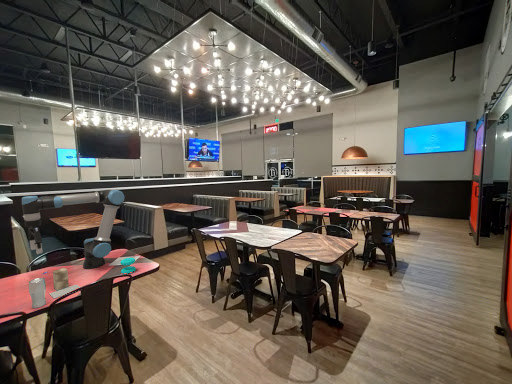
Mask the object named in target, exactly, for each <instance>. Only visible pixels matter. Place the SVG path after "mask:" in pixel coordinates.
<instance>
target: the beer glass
mask: <svg viewBox="0 0 512 384" xmlns="http://www.w3.org/2000/svg"><path fill="white" fill-rule="evenodd" d="M46 289H47V284H46V278H45V277H37V278H33V279H31V280H30V281H29V282H28V293H29V296H30V298H31V302H32V303H31V309H39V308H41V307H44V306H45V305H47V301H46Z"/></svg>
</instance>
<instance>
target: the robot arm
mask: <svg viewBox="0 0 512 384" xmlns="http://www.w3.org/2000/svg"><path fill="white" fill-rule="evenodd" d="M125 196H126V195H124V192H123V191H121V190H118V189H103V190H97V191H94V192H88V193H75V194H74V193H73V194H63V195H61V194H60V195H51V196H48V195H45V196H40V197H38V195H30V196H29V195H28V196H23V197H21V206H22V207H21V208H22V211H23V212H22V214H23V215H22V218H23V220H24V222H23V223H24V227H26V228H28V239H29V245H30V246H29V247H30V250H31V251H34V250H35V251H36V255H39V254H43V253H44V252H43V244H42V243H43V239H42V235H41V233H40V232H41V231H40V227H38V226H41V225H42V220H41V213H40V210H48V209H57V208H63V206H68V205H78V204H88V203H89V204H90V203H96V204H98V203H102V204H103V206H104V210H103V213H102V218H101V220H100V224H99V227H98V231H97V235H96V236H95V237H92V238H86V239H85V240H84V241H83V246H84V260H83V264H82V268H83V269H84V270H92V269H96V268H100V267H102V266H105V265H106V260H105V259H106V258H105V257H106V256H108V255H110V253H111V251H112V246H111V241H112V240H111V238H110V237H111V234H112V230H113V226H114V221H115V219H116V214H117V211H118V209H120V208H121V205H122V204H123V202H124V201H125Z"/></svg>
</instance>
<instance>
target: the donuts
mask: <svg viewBox="0 0 512 384" xmlns="http://www.w3.org/2000/svg"><path fill="white" fill-rule="evenodd" d="M135 262H136V259H135V258H134V257H126V258H123V259H121V260H120V265H121V266H123V268H122V269H121V271H120V273H121V274H122V273H123V274H122V275H125V274H124V273H127V274H126V275H129V274H128V273H130V272H133V271H134V272H135V271H136V270H137V268H136V267H135V266H134V265H133V264H135ZM124 266H125V267H124ZM134 272H133V273H134ZM130 274H131V273H130Z"/></svg>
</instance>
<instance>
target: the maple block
mask: <svg viewBox="0 0 512 384" xmlns="http://www.w3.org/2000/svg"><path fill="white" fill-rule="evenodd" d="M52 279H53V289H54V291H58V290H61V289H64V288H67V287H70V286H69V273H68V269H67V268H65V267H62V268H59V269H54V270H52Z"/></svg>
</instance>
